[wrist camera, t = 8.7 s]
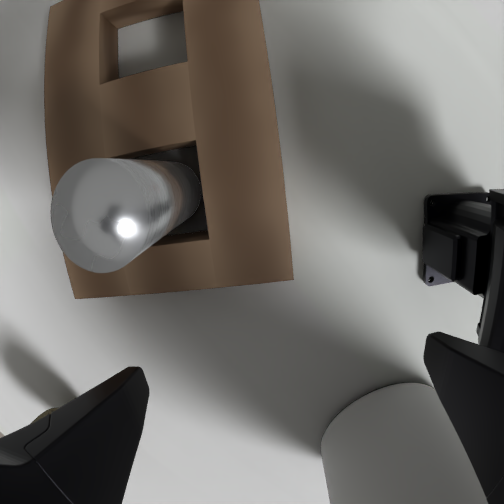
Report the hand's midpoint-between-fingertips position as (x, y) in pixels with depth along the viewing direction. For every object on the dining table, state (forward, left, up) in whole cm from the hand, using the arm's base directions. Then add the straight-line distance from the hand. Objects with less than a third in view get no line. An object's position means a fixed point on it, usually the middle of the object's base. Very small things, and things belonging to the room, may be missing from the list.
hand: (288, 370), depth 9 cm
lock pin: (+6, -5, -12) cm, 14 cm away
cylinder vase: (-9, +18, -12) cm, 24 cm away
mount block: (+6, -10, -12) cm, 17 cm away
